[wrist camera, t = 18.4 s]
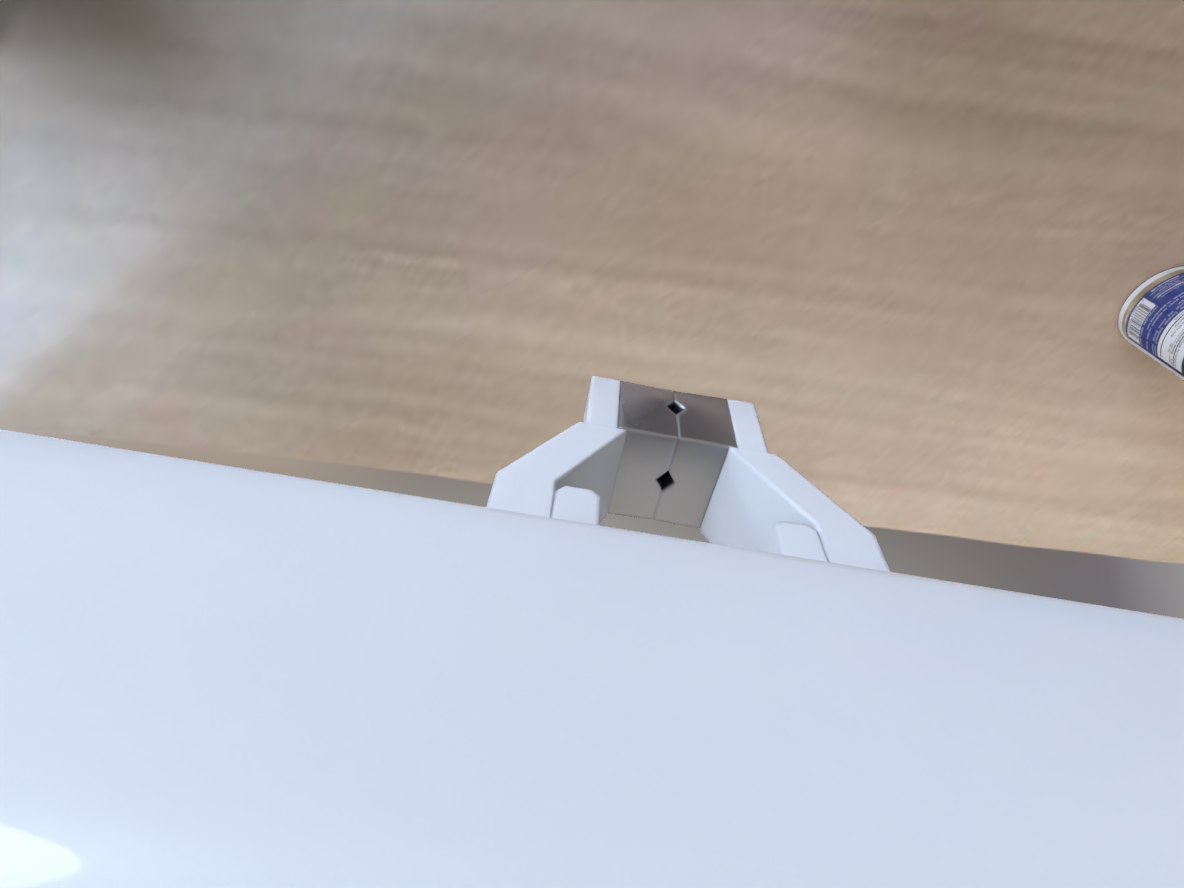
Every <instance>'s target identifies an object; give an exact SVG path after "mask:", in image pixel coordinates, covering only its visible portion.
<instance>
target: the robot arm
mask: <svg viewBox="0 0 1184 888" xmlns="http://www.w3.org/2000/svg"><path fill="white" fill-rule="evenodd" d="M607 513H608V514H615V515H623V516H630V517H638V518H645V519H654V520H658V521H663V522H669V523H674V524H679V525H685V526H690V527H695V528H700V529H699V531H700V532H701V533H702V535H703V536H704V537H705V539H706V540H707V541H708V543H706V542H700V541H693V540H687V539H681V538H675V537H668V536H662V535H656V534H650V533H643V532H637V531H630V530H625V529H618V528H612V527H606V526H599V524H600V522H601V521H602V520H603V519H604V518H605V517H606V516H607ZM0 888H1184V619H1180V618H1174V617H1168V616H1162V615H1155V614H1149V613H1143V612H1136V611H1131V610H1124V609H1118V608H1112V607H1105V606H1099V605H1093V604H1087V603H1081V602H1074V601H1068V600H1062V599H1056V598H1049V597H1043V596H1037V595H1031V594H1024V593H1018V592H1012V591H1005V590H1000V589H993V588H987V587H981V586H974V585H968V584H962V583H956V582H949V581H943V580H937V579H931V578H924V577H918V576H912V575H905V574H900V573H893V572H890V570H889V567H888V565H887V563H886V560H885V558H884V556H883V553H882V551H881V549H880V547H879V545H878V542H877V540H876V537H875V535H874V534H873V533H871V532H870V531H869V530H868V529H867V528H866V527H864V526H863V525H862V524H861V523H859V522H858V521H857V520H856V519H855V518H853V517H852V516H851V515H850V514H848V513H847V512H846V511H845V510H843V509H842V508H841V507H840V506H839V505H837V504H836V503H835V502H834V501H832V500H831V499H830V498H829V497H828V496H826V495H825V494H824V493H823V492H821V491H820V490H819V489H818V488H817V487H815V486H814V485H813V484H812V483H810V482H809V481H808V480H807V479H805V478H804V477H803V476H802V475H801V474H799V473H798V472H797V471H796V470H794V469H793V468H792V467H791V466H790V465H788V464H787V463H786V462H785V461H783V460H782V459H781V458H780V457H779V456H777V455H774V454H769V453H768V449H767V446H766V443H765V439H764V436H763V432H762V429H761V426H760V422H759V419H758V416H757V412H756V409H755V405H754V404H752V403H751V402H744V401H736V400H728V399H723V398H716V397H710V396H703V395H696V394H689V393H682V392H676V391H672V390H666V389H661V388H656V387H651V386H645V385H640V384H635V383H630V382H624V381H619V380H616V379H610V378H603V377H596V376H592V379H591V383H590V388H589V394H588V399H587V404H586V409H585V415H584V420H583V422H578V423H576V424H574V425H573V426H571V427H570V428H568V429H566V430H565V431H563V432H561V433H560V434H558V435H557V436H555V437H553V438H552V439H550V440H549V441H547V442H545V443H544V444H542V445H540V446H539V447H537V448H536V449H534V450H532V451H531V452H529V453H528V454H526V455H524V456H523V457H521V458H519V459H518V460H516V461H515V462H513V463H511V464H510V465H508V466H506V467H505V468H503V469H502V470H500V471H498V472H497V474H496V477H495V480H494V483H493V487H492V490H491V494H490V497H489V500H488V503H487V507H481V506H475V505H468V504H462V503H456V502H450V501H443V500H437V499H431V498H424V497H418V496H412V495H406V494H400V493H393V492H386V491H381V490H375V489H368V488H361V487H356V486H350V485H343V484H337V483H331V482H325V481H318V480H312V479H306V478H299V477H293V476H287V475H281V474H275V473H268V472H262V471H256V470H250V469H244V468H237V467H231V466H224V465H219V464H212V463H206V462H200V461H194V460H187V459H181V458H175V457H168V456H162V455H156V454H150V453H143V452H138V451H131V450H125V449H119V448H113V447H106V446H100V445H94V444H88V443H81V442H75V441H69V440H62V439H56V438H50V437H44V436H37V435H32V434H25V433H19V432H13V431H7V430H1V429H0Z"/></svg>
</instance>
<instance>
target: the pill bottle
mask: <svg viewBox="0 0 1184 888" xmlns="http://www.w3.org/2000/svg"><path fill="white" fill-rule="evenodd" d="M1118 325H1119V329H1120V332H1121V334H1122V336H1123V337H1124V338H1125V339H1126V340H1127V341H1128V342H1130V343H1131V344H1132V345H1134V346H1135V347H1136V348H1138V349H1139V350H1141V351H1142V352H1143V353H1145V354H1146V355H1148V356H1149V357H1151V358H1152V359H1154V360H1155V361H1156V362H1158V363H1159V364H1161V365H1162V366H1164V367H1165V368H1166V369H1168V370H1169V371H1171V372H1172V373H1174V374H1175V375H1177V376H1178V377H1179V378H1181V379H1182V380H1183V381H1184V266H1181V267H1176V268H1172V269H1168V270H1165V271H1163V272H1161V273H1158V274H1157V275H1155V276H1153V277H1151V278H1150V279H1148V280H1147V281H1145V282H1144V283H1142V284H1141V285H1140V286H1139V287H1138V288H1137V289H1136V290H1135V291H1134V292H1133V293H1132V294H1131V295H1130V296H1129V297H1128V299H1127V300H1126V302H1125V303H1124V305H1123V307H1122V309H1121V311H1120V314H1119V319H1118Z"/></svg>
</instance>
